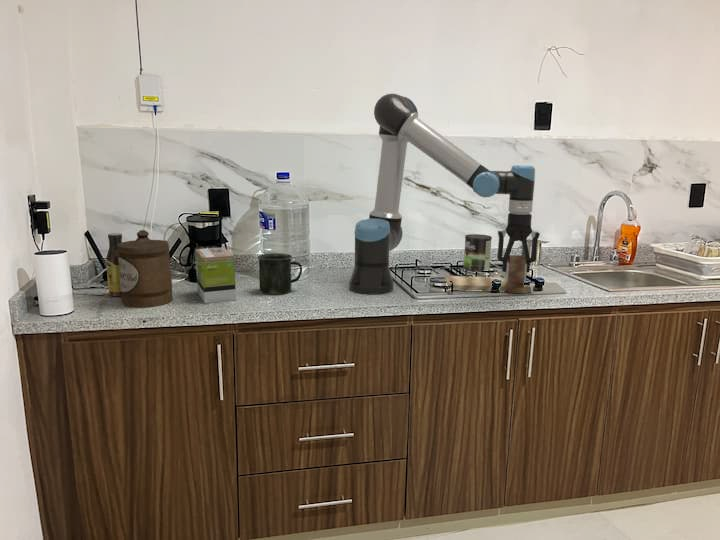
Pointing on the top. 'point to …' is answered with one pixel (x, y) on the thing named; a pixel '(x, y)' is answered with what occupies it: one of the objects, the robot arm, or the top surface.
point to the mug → (276, 273)
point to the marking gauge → (516, 273)
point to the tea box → (215, 274)
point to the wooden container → (145, 272)
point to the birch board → (478, 283)
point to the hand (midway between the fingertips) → (514, 281)
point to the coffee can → (477, 252)
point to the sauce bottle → (113, 264)
